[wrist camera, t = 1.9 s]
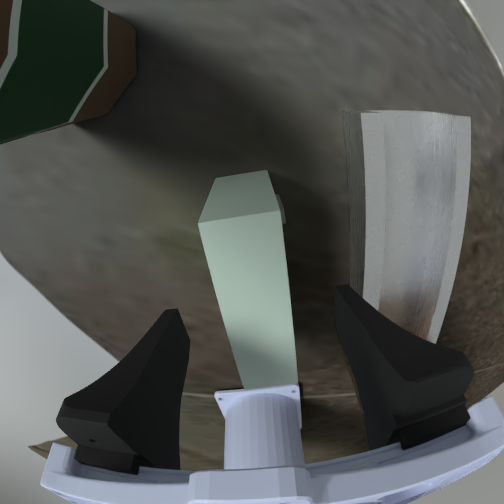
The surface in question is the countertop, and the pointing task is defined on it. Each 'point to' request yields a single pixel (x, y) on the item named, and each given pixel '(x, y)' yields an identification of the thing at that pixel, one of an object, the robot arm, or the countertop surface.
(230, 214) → the door panel
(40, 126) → the beer bottle
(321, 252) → the countertop surface
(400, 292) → the rail
